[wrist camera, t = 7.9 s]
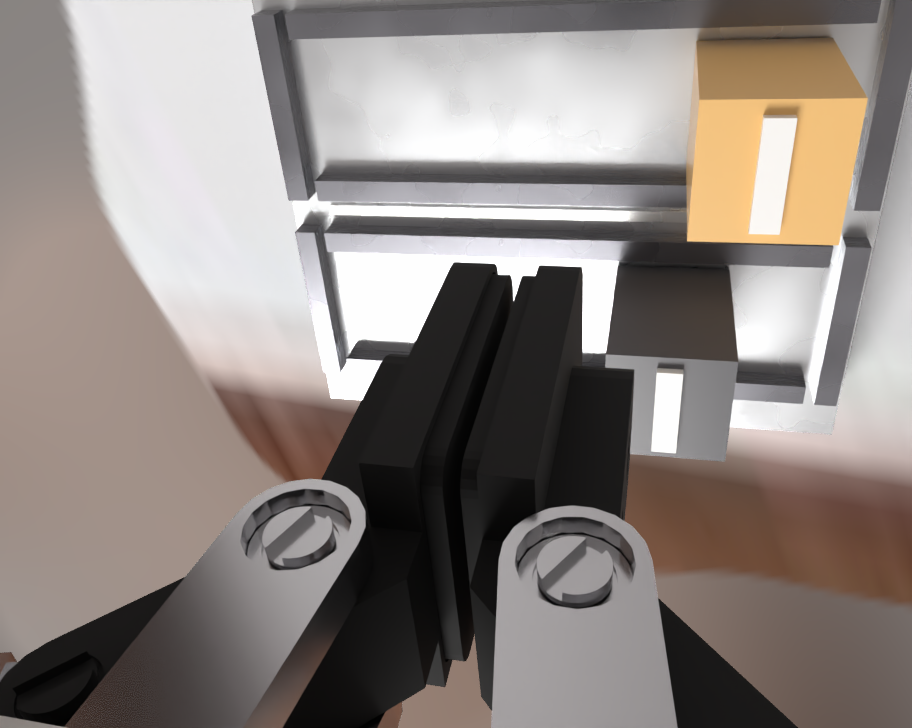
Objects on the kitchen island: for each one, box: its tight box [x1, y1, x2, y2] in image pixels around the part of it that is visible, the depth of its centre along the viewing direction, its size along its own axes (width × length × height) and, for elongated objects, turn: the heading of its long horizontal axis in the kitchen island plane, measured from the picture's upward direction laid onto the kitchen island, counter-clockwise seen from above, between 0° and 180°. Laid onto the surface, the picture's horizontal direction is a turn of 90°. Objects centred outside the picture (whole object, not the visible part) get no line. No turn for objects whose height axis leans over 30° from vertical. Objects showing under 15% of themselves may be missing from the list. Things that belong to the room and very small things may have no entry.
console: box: [252, 0, 912, 435], centre depth 24 cm, size 14×16×3 cm
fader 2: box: [686, 38, 868, 245], centre depth 18 cm, size 3×3×5 cm
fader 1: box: [605, 266, 738, 462], centre depth 22 cm, size 3×3×5 cm
